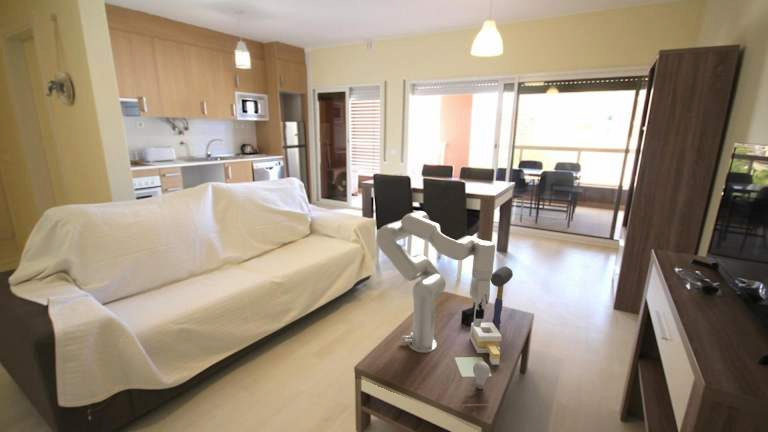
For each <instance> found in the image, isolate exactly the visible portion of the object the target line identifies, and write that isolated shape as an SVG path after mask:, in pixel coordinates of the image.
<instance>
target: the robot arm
mask: <svg viewBox="0 0 768 432" xmlns="http://www.w3.org/2000/svg"><path fill="white" fill-rule="evenodd" d="M441 230H442V229H441V225H440V223H438V222H435V221H432V220H430V217H429V215H428V214H427V213H426V212H425V211H422V210H416V211H413V212H410V213H407V214H405V215H404V216H403V217H402V219H400V220H397V221H393V222H390V223H387V224H384V225H383V226H382V227H380V228H379V230H378V232H377V234H376V243H377V245H378V248H379V250H380V251H381V252H382V253H383V254H384V255H385V256H386V258H388V259H389V261H390V262H391V263H392V265H393V266H394V267H395V269H396V270H397V271H398V272H399V274H400V275H401V277H402V278H404V280H405V281H407V282H413V281H416V280H417V279H419V278H420V279H419V280H418V281H417V282H415V284H414V285H413V286H412V287H413V288H412V298H413V299H412V300H413V311H412V313H413V314H412V315H413V316H412V317H413V318H412V332H410V334H408V335H401V340H402V341H404V342H405V343H406V344H407V343H408V347H409V348H410V349H411V350H412V351H414V352H417V353H424V354H425V353H426V354H427V353H431V352H434V351H435V350H436V349H437V346H438V345H437V340H435V337H434V335H435V323H436V305H435V298H436V297H438V295H440V294H441V293H442V292H443V291H444V290H445V289H446V286H447V284H446V280H445V278H444V276H443V275H442V273H441V272H440V271H439V269H438V268H436V267H437V266H435V265H434V263H433V262H432V261H431V260H430V258H428V257H426V256H425V255H422V254H416V255H413V256H412V255H411V254H410V253H409V252H408V251H407V249H406V248H405V247H404V246H402V245H401V244H398V243H397V242H398V241H401V240H403V239H406V238H408V237H409V236H414V237H417V238H418V239H421V240H424V241H425V242H428V243H430V245H431V246H432V248H434V250H436V251H437V252H438V253H439V254H441V255H442V256H445V257H447V258H450V259H452V260H455V261H464V260H465V259H467V258H469V257H470V256H473V259H472V272H471V282H470V286H469V287H470V288H469V295H470V297H471V299H472V304H473V305H472V307H473V312H472V313H473V314H474V311H475V303H476V304H477V309H476V314H475V318H476V319H482V320H483V319H484V318H485V317H484V316H485V310H486V309H487V305H488V304H489V303H490V297H491V295H490V292H491V280H490V279H492V274H493V273H494V272H493V271H494V264H495V263H494V262H495V254H496V245H495V243H494V242H492V241H489V240H483V239H479V238H477V237H474V236H471V235H464V236H462V237H460V238H459V239H457V240H456V239H453V238H450V237H449V236H446V235H445V234H443V233H442V232H441ZM481 301H482V302H481ZM480 304H482V305H480Z"/></svg>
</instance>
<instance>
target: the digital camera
mask: <svg viewBox="0 0 768 432" xmlns="http://www.w3.org/2000/svg"><path fill="white" fill-rule="evenodd" d="M472 312H473V306H472V307H469V308H467V309H463V310H462V311H461V319H460V322H461V323H460V324H462V325H464V326H465V327H467V328H469V327H471V323H473V321H474V314H473V313H472ZM482 320H483V319H482ZM482 320H481V322H482Z"/></svg>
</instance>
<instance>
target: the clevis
mask: <svg viewBox="0 0 768 432" xmlns="http://www.w3.org/2000/svg"><path fill="white" fill-rule="evenodd" d="M502 339H503V336H502V334H501V333H500V331H499V330H498V328H497V326H495V325H494V324H493V322H492V321H491V322H481V327H475V326H473V323H471V326H470V334H469V340H470V341H471V343H472V345H473V347H474V349H475V351H476V353H477V354H489V361H490V364H491V365H493V366H495V365H500V359H501V347H500V343H501V342H502V341H503V340H502Z"/></svg>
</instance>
